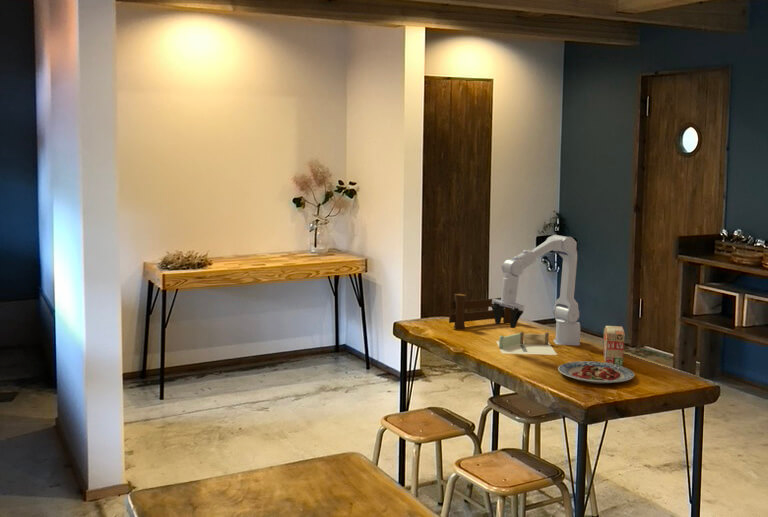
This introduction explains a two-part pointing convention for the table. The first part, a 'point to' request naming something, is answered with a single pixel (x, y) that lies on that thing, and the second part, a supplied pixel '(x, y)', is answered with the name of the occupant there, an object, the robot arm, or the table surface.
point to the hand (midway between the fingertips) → (505, 325)
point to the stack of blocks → (613, 345)
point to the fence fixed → (534, 338)
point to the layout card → (528, 349)
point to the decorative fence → (462, 317)
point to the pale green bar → (509, 340)
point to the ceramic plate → (596, 372)
